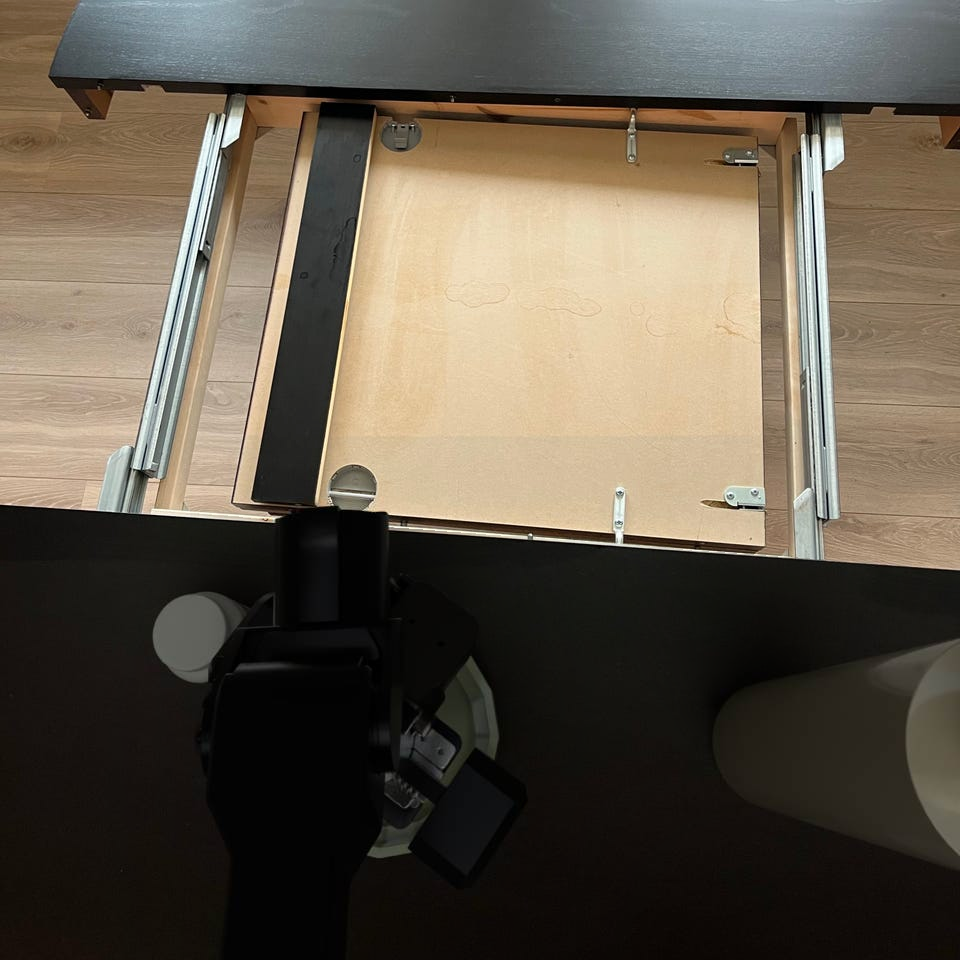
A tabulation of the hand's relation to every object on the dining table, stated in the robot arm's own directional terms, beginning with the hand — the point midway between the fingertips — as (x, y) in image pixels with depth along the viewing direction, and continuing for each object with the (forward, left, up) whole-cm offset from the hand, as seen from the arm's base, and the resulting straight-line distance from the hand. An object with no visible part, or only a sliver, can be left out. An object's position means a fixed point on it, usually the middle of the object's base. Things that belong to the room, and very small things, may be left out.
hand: (384, 733), depth 67 cm
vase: (+5, -25, -6) cm, 26 cm away
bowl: (0, 0, -6) cm, 6 cm away
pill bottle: (+3, +13, -6) cm, 15 cm away
